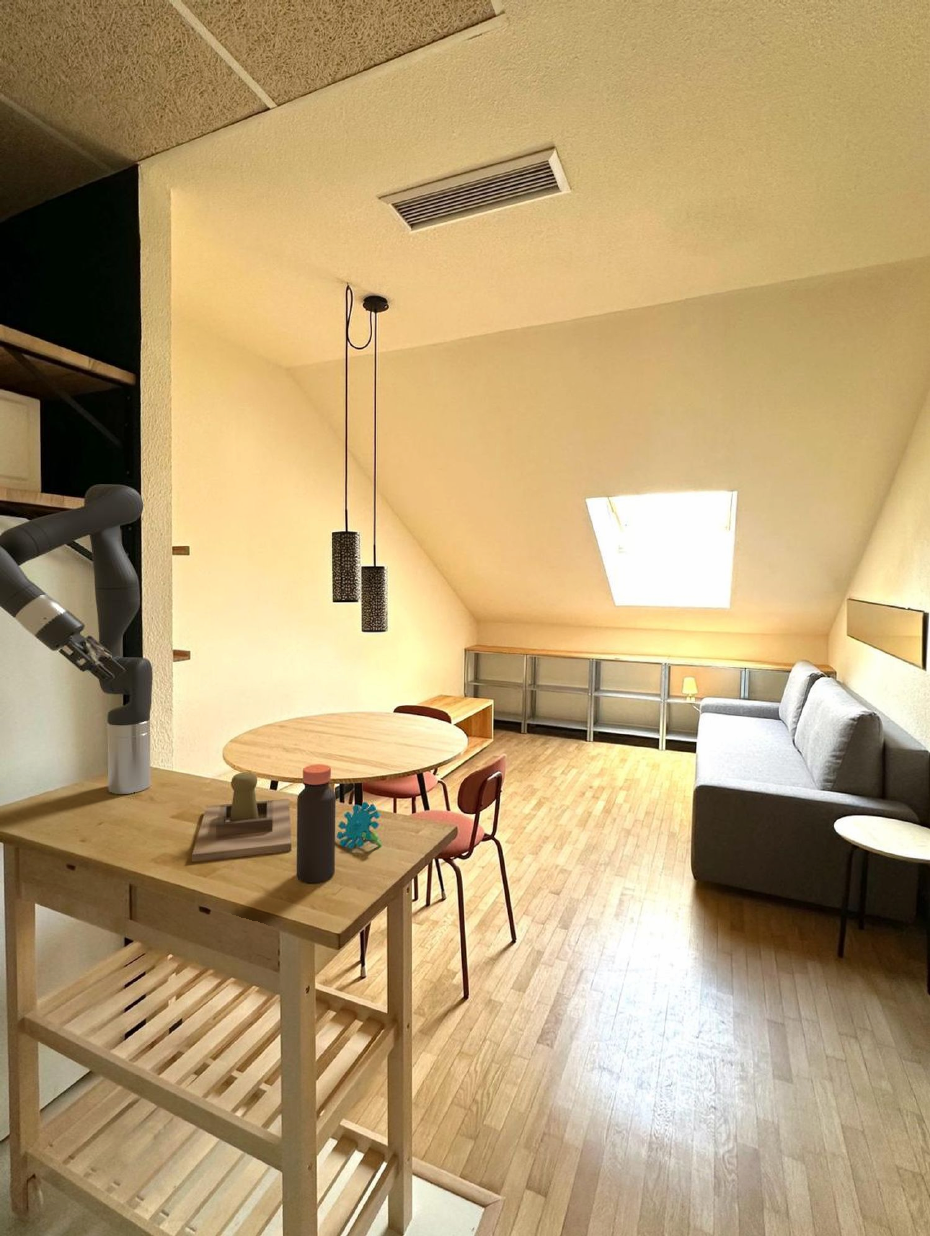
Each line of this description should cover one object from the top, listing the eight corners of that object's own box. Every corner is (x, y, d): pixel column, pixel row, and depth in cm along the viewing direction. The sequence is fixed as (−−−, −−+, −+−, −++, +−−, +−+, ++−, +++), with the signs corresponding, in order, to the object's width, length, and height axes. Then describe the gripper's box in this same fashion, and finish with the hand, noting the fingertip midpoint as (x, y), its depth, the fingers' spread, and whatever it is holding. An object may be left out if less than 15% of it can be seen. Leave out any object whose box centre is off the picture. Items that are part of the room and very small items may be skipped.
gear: (327, 831, 119) (360, 792, 123) (343, 844, 123) (375, 806, 126) (352, 858, 111) (387, 816, 114) (369, 871, 114) (402, 830, 118)
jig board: (206, 812, 131) (206, 795, 130) (288, 804, 136) (288, 788, 136) (192, 862, 108) (192, 841, 108) (291, 850, 114) (291, 831, 114)
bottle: (290, 872, 105) (291, 766, 104) (325, 862, 109) (326, 760, 108) (305, 889, 100) (306, 777, 99) (340, 877, 104) (342, 770, 103)
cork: (246, 816, 126) (246, 767, 125) (265, 822, 123) (265, 772, 122) (222, 826, 120) (222, 775, 120) (241, 833, 117) (241, 781, 117)
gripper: (52, 611, 108) (122, 669, 113) (77, 607, 122) (138, 659, 126) (20, 639, 107) (91, 697, 111) (48, 632, 120) (111, 684, 125)
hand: (116, 677), depth 119 cm, fingers open, 8 cm apart
